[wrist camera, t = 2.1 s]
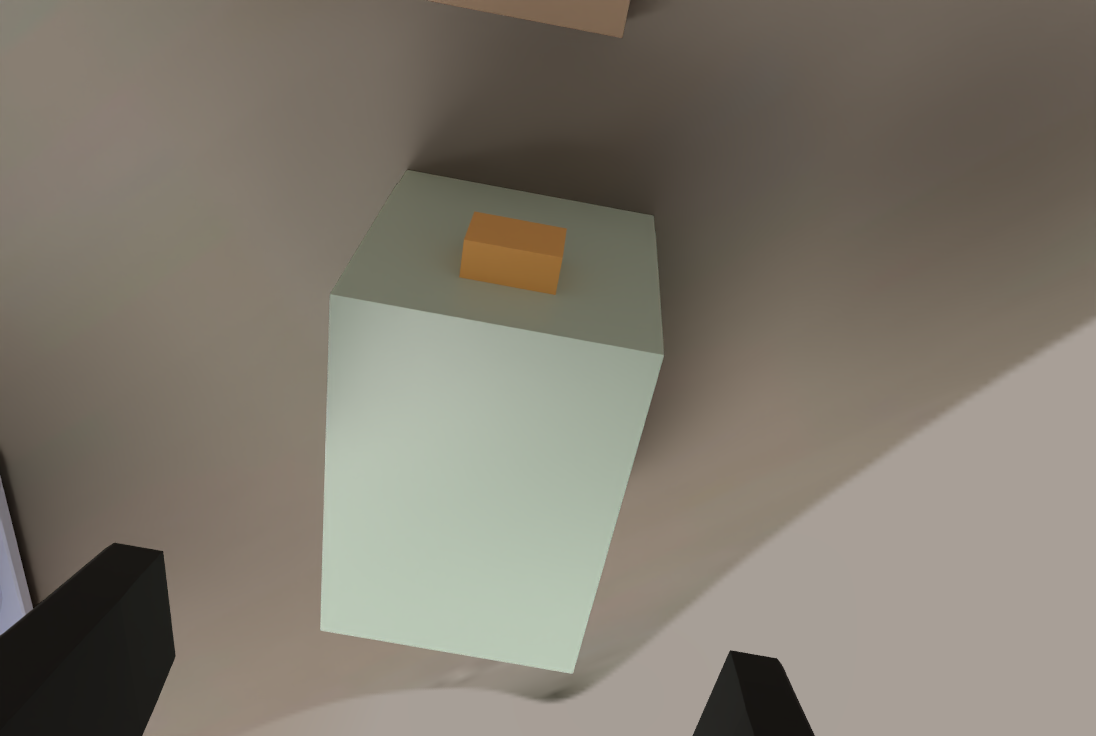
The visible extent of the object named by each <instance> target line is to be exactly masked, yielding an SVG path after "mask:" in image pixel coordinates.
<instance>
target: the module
mask: <svg viewBox="0 0 1096 736" xmlns="http://www.w3.org/2000/svg"><path fill="white" fill-rule="evenodd" d="M663 358H664V345H663V331H662V316H661V302H660V287H659V273H658V258H657V244H656V231H655V227H654V216H653V215H647V214H642V213H637V212H631V211H626V210H620V209H615V208H610V207H604V206H599V205H594V204H588V203H583V202H577V201H572V200H567V199H561V198H556V197H551V196H545V195H540V194H535V193H529V192H524V191H518V190H513V189H508V188H502V187H497V186H492V185H486V184H481V183H475V182H470V181H465V180H459V179H454V178H449V177H443V176H438V175H432V174H427V173H422V172H416V171H411V170H406V172H405V174H404V175H403V177H402V179H401V180H400V182H399V183H397V184H396V186H395V188H394V189H393V191H392V193H391V194H390V196H389V198H388V199H387V201H386V202H385V204H384V206H383V207H382V209H381V211H380V212H379V214H378V216H377V217H376V219H375V221H374V222H373V224H372V226H371V227H370V229H369V230H368V232H367V234H366V235H365V237H364V239H363V240H362V242H361V244H360V245H359V247H358V249H357V250H356V252H355V254H354V255H353V257H352V258H351V260H350V262H349V263H348V265H347V267H346V268H345V270H344V272H343V273H342V275H341V277H340V278H339V280H338V282H337V283H336V285H335V286H334V288H333V290H332V291H331V293H330V305H329V341H328V376H327V412H326V447H325V482H324V518H323V553H322V589H321V624H320V630H321V631H326V632H332V633H338V634H344V635H350V636H356V637H361V638H367V639H373V640H379V641H385V642H391V643H396V644H402V645H408V646H414V647H420V648H426V649H431V650H437V651H443V652H449V653H455V654H461V655H466V656H472V657H478V658H484V659H490V660H495V661H501V662H507V663H513V664H519V665H525V666H530V667H536V668H542V669H548V670H554V671H560V672H565V673H571V674H573V671H574V668H575V664H576V661H577V657H578V654H579V650H580V647H581V643H582V640H583V636H584V633H585V629H586V626H587V622H588V619H589V615H590V612H591V608H592V605H593V601H594V598H595V594H596V591H597V587H598V584H599V580H600V577H601V574H602V570H603V567H604V563H605V560H606V556H607V553H608V549H609V546H610V542H611V539H612V535H613V532H614V528H615V525H616V521H617V518H618V514H619V511H620V507H621V504H622V500H623V497H624V493H625V490H626V486H627V483H628V479H629V476H630V472H631V469H632V466H633V462H634V459H635V455H636V452H637V448H638V445H639V441H640V438H641V434H642V431H643V427H644V424H645V420H646V417H647V413H648V410H649V406H650V403H651V399H652V396H653V392H654V389H655V385H656V382H657V378H658V375H659V371H660V368H661V365H662V361H663Z"/></svg>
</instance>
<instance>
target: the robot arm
mask: <svg viewBox="0 0 1096 736" xmlns="http://www.w3.org/2000/svg"><path fill="white" fill-rule="evenodd" d="M174 659H175V648H174V640H173V631H172V623H171V614H170V606H169V597H168V589H167V580H166V572H165V563H164V555H163V551H159V550H153V549H147V548H141V547H136V546H130V545H124V544H119V543H113V544H112V545H110V546H108V547H107V548H106V549H104V550H103V551H102V552H101V553H100V554H98V555H97V556H96V557H95V558H94V559H92V560H91V561H90V562H89V563H88V564H86V565H85V566H84V567H83V568H82V569H80V570H79V571H78V572H77V573H76V574H74V575H73V576H72V577H71V578H70V579H68V580H67V581H66V582H65V583H64V584H62V585H61V586H60V587H59V588H58V589H56V590H55V591H54V592H53V593H52V594H50V595H49V596H48V597H47V598H46V599H44V600H43V601H42V602H41V603H40V604H38V605H37V606H36V607H35V608H33V606H32V602H31V598H30V594H29V590H28V586H27V582H26V578H25V574H24V570H23V566H22V562H21V558H20V554H19V550H18V546H17V541H16V537H15V533H14V529H13V525H12V521H11V517H10V513H9V509H8V505H7V501H6V497H5V493H4V489H3V485H2V481H1V477H0V736H142V735H143V733H144V730H145V728H146V726H147V723H148V721H149V719H150V716H151V714H152V712H153V710H154V707H155V705H156V703H157V700H158V698H159V695H160V693H161V691H162V688H163V686H164V683H165V681H166V678H167V676H168V673H169V671H170V668H171V666H172V664H173V661H174ZM693 736H815V735H814V733H813V731H812V729H811V727H810V724H809V722H808V720H807V718H806V716H805V714H804V712H803V710H802V707H801V705H800V703H799V701H798V699H797V697H796V694H795V692H794V690H793V688H792V686H791V683H790V681H789V679H788V677H787V675H786V672H785V670H784V668H783V666H782V664H781V663H780V662H779V660H778V659H777V658H771V657H765V656H760V655H754V654H748V653H743V652H737V651H730V652H729V654H728V656H727V658H726V661H725V663H724V665H723V668H722V670H721V672H720V674H719V677H718V679H717V681H716V684H715V686H714V688H713V690H712V693H711V695H710V697H709V699H708V702H707V704H706V706H705V709H704V711H703V713H702V716H701V718H700V720H699V722H698V725H697V727H696V729H695V731H694V734H693Z"/></svg>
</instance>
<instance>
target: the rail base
mask: <svg viewBox="0 0 1096 736" xmlns="http://www.w3.org/2000/svg"><path fill="white" fill-rule="evenodd" d="M426 1H431V2H437V3H442V4H447V5H452V6H457V7H463V8H468V9H473V10H478V11H483V12H489V13H494V14H499V15H504V16H510V17H515V18H520V19H525V20H530V21H536V22H541V23H546V24H551V25H556V26H562V27H567V28H572V29H577V30H582V31H588V32H593V33H598V34H603V35H609V36H614V37H619V38H622V37H623V32H624V28H625V23H626V18H627V13H628V8H629V3H630V0H426Z"/></svg>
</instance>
